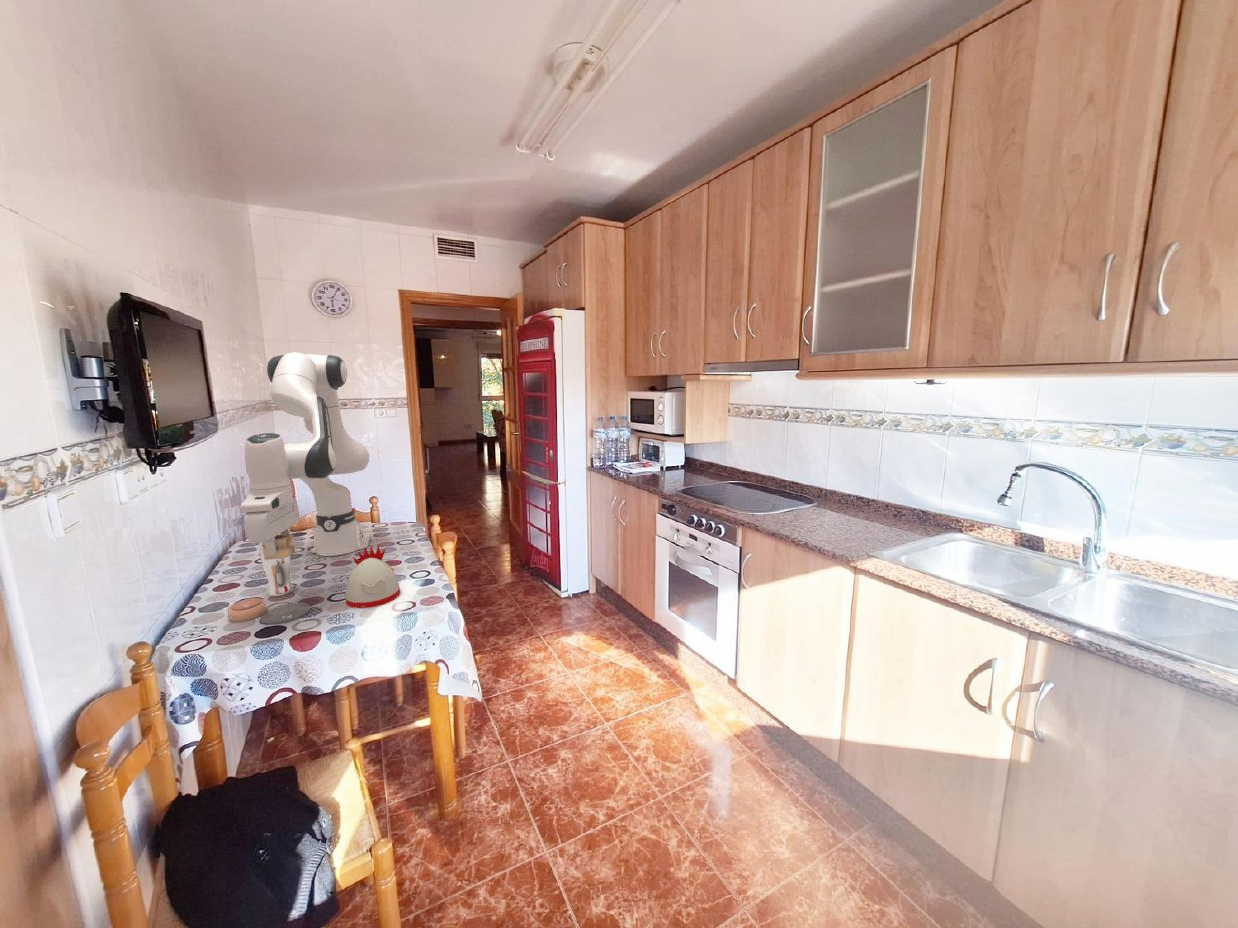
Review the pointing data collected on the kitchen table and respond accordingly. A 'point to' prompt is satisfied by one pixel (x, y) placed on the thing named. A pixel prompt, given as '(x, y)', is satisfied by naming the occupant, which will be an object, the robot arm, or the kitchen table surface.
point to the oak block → (281, 547)
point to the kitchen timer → (371, 581)
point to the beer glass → (277, 574)
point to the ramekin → (246, 610)
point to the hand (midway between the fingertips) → (279, 549)
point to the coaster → (285, 613)
